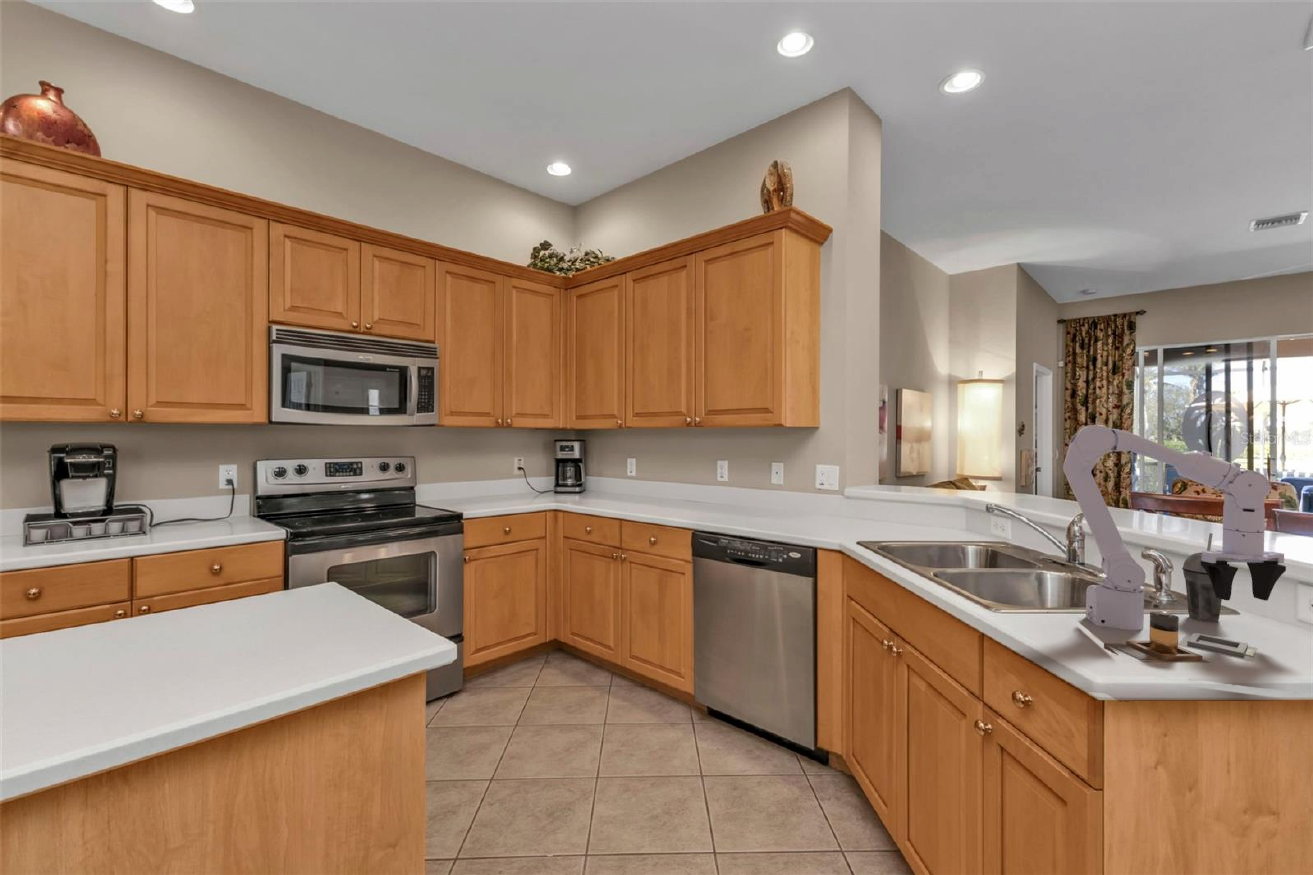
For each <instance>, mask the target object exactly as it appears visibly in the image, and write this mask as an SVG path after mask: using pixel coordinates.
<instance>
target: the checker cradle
mask: <svg viewBox="0 0 1313 875" xmlns="http://www.w3.org/2000/svg"><path fill="white" fill-rule="evenodd" d="M1178 646H1179V647H1183V648H1184V647H1185V648H1189V649H1190V648H1191V649H1193V650H1194V649H1195V650H1200V651H1203V652H1207V653H1213V654H1217V655H1222V656H1227V657H1230V658H1234V659H1235V658H1236V659H1240V660H1245V661H1248V662H1253V660H1254V658H1255V655H1256V653H1257V651H1258V647H1255V646H1250V645H1249V644H1248V643H1247V642H1244V641H1243V642H1242V641H1238V640H1233V639H1229V638H1225V637H1218V636H1214V635H1208V634H1203V633H1198V632H1193V633H1186V634H1185V635H1184V636H1183V638H1182V639H1181V640H1180V641H1179V642H1178Z"/></svg>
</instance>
